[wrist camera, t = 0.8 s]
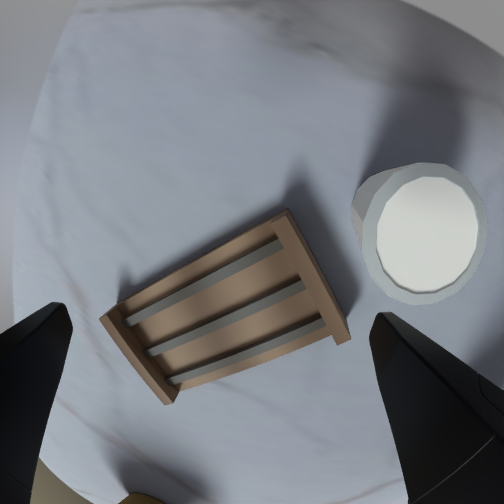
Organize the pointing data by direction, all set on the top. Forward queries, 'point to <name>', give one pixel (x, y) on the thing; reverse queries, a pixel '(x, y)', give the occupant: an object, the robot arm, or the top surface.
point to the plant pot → (139, 499)
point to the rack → (228, 310)
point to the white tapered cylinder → (420, 231)
